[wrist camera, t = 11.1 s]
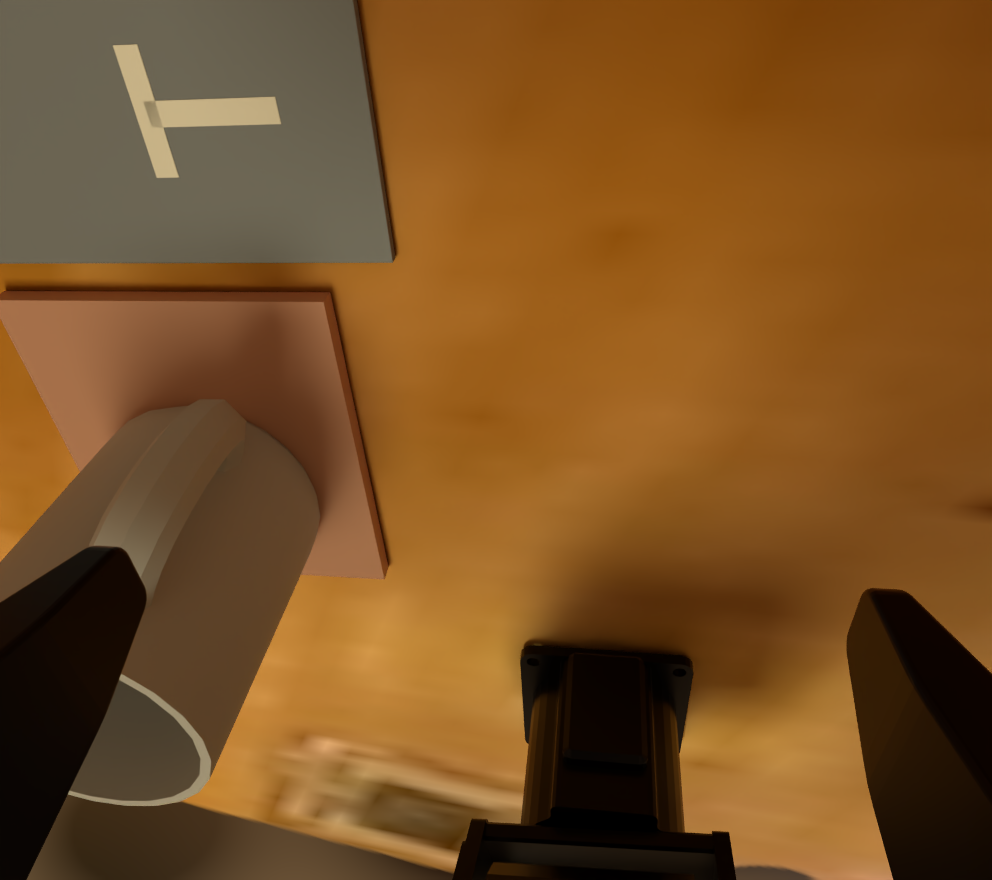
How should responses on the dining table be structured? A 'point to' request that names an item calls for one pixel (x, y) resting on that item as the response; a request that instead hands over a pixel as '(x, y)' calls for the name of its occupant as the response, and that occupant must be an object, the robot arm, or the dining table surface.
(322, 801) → the dining table surface
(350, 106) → the tile
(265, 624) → the cup
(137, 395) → the coaster pad
